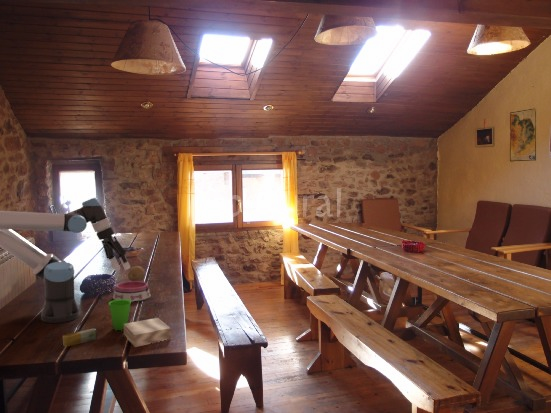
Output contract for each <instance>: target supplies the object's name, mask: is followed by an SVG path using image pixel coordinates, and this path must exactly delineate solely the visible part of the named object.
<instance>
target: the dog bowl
mask: <svg viewBox="0 0 551 413" xmlns="http://www.w3.org/2000/svg"><path fill="white" fill-rule="evenodd" d="M151 296H152V295H151V291H150V287H149V284H148V282H146V281H143V280H142V281H131V280H129V281H123V282H119V283H117V284H116V285H115V288H114V291H113V295H112V301H113V300H119V299H126V300H130V301H131V302H132V303H134V302H133V301H139V302H144V301H146V300H149V299H150V298H151ZM139 302H138V303H139Z"/></svg>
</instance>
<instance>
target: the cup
mask: <svg viewBox="0 0 551 413" xmlns="http://www.w3.org/2000/svg"><path fill="white" fill-rule="evenodd" d="M131 304H132V303H131V301H130V300H126V299H119V300H113V299H112V300H111V301H109V302H108V304H107V305H108V306H109V310H110V318H111V320H112V326H113V330H114V329H115V330H114V331H117V330H121V331H123V330H122V329H124V324H126V323H129V318H130V317H129V315H130V309H131Z"/></svg>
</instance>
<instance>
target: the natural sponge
mask: <svg viewBox="0 0 551 413" xmlns="http://www.w3.org/2000/svg"><path fill="white" fill-rule="evenodd" d="M145 275H146V270H145V269H144V268H143V267H142V266H140V265H139V266H138V265H137V266H135V265H134V266H132V267H131V268H129V271H128V274H127V279H128V280H129V281H142V282H143V280H144V278H145Z"/></svg>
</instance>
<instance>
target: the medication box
mask: <svg viewBox="0 0 551 413" xmlns="http://www.w3.org/2000/svg"><path fill="white" fill-rule="evenodd" d="M97 337H98V335H97V329H96V328H95V327H93V328H90V329H89V328H88V329H84V330H79V331H76V332H73V333H68V334H64V335H62V346H63V347H64V348H67V347H71V346H76V345H79V344H80V345H81V344H83V343H87V342H91V341H96V340H97V339H98V338H97Z"/></svg>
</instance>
